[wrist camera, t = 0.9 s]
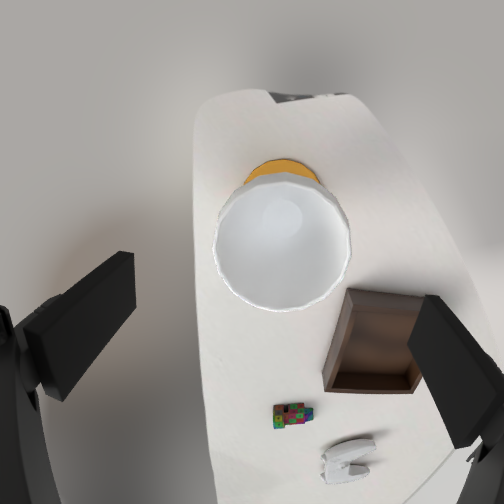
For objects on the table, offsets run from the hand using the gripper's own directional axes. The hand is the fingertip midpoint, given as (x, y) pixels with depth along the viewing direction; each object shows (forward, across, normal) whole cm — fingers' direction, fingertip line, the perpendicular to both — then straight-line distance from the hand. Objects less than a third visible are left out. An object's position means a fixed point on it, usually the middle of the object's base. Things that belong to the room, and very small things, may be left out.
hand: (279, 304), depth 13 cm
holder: (+22, +16, -16) cm, 31 cm away
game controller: (+22, +20, -44) cm, 54 cm away
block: (+22, +7, -32) cm, 39 cm away
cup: (+22, 0, 0) cm, 22 cm away
